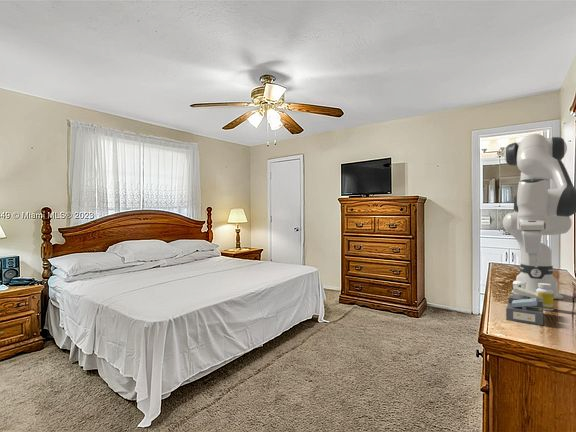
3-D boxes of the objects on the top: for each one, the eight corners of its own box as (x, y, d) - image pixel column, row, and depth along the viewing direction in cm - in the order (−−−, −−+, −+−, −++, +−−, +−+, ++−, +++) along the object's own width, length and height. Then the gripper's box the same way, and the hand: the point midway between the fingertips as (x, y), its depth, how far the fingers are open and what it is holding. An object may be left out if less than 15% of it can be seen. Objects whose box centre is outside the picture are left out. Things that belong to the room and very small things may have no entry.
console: (510, 308, 126) (510, 291, 126) (543, 313, 120) (542, 294, 120) (506, 319, 112) (506, 300, 112) (542, 325, 105) (542, 304, 105)
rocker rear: (514, 289, 124) (515, 285, 124) (536, 296, 120) (537, 293, 119) (513, 291, 119) (514, 288, 119) (536, 299, 115) (537, 295, 115)
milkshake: (529, 304, 132) (529, 280, 132) (513, 302, 135) (513, 279, 135) (527, 302, 136) (527, 278, 136) (512, 300, 139) (512, 277, 139)
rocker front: (514, 304, 116) (512, 300, 117) (537, 302, 112) (536, 298, 112) (512, 307, 112) (511, 303, 112) (537, 305, 108) (535, 301, 108)
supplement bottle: (557, 311, 122) (556, 285, 122) (540, 310, 123) (540, 285, 124) (548, 307, 128) (548, 282, 128) (533, 306, 129) (532, 282, 129)
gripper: (523, 224, 121) (523, 261, 121) (519, 224, 105) (520, 267, 105) (544, 224, 117) (544, 262, 117) (544, 225, 101) (544, 268, 101)
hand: (533, 264), depth 111 cm, fingers open, 7 cm apart
